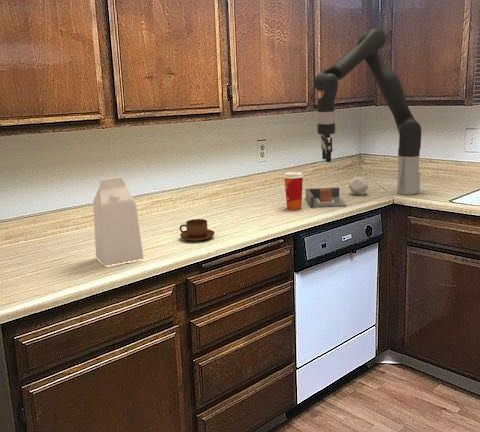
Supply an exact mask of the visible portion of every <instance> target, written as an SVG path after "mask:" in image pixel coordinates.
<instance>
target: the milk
mask: <svg viewBox="0 0 480 432" xmlns="http://www.w3.org/2000/svg"><path fill="white" fill-rule="evenodd" d="M92 203H93V204H92V206H93V209H92V210H93V223H94V239H95V240H94V244H95V258H96V257H97V258H98V259H99V260H100V261H101V262H102V263H103V264H104V265H105V266H107V265H112V264H117V263H123V262H128V261H133V260H138V259H144V254H143V245H142V239H141V232H140V225H139V217H138V210H137V204H136V201H135V199H134V196H133V195H132V194H131V191H130V190H129V187H127V185H126V183H125V181H124V179H123V178H122V177H121V176H117V177H109V178H102V179H101V180H100V182H99V187H98V189H97V192H96V194H95V196H94V198H93V202H92Z"/></svg>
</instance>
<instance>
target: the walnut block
mask: <svg viewBox="0 0 480 432" xmlns="http://www.w3.org/2000/svg"><path fill="white" fill-rule="evenodd" d="M318 188H319V201H320V202H332V190H331V189H330V188H331V187H318Z"/></svg>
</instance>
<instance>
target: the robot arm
mask: <svg viewBox="0 0 480 432" xmlns="http://www.w3.org/2000/svg"><path fill="white" fill-rule="evenodd" d="M386 39H387V35H386V33H385V31H383V30H382V29H380V28H377V27H376V28H371V29H369V30H368V31H366V32H365V33H362V34H361V35H360V36H359V37H358V39H357V46H355V47H354V48H353V49H352V50H350V51H348V52H347V53H345V54H344V55H343V56H342V57H340V58H339V59H338V60H337V61H335V62H334V63H333V64H332V65H331V66H330V67H327V68H326V69H324V70H323V71H320V72H319V73H318V74H317V75H316V76H315V77H314V80H313V83H312V84H313V87H314V89H315V90H316V91H318V92H323V93H322V94H323V95H322V96H321V97H319V98H318V99H317V115H316V118H317V119H316V122H317V123H316V127H317V128H316V129H317V130H316V132H317V135H320V149H321V153H322V154H321V155H322V157H321V158H322V160H325V162H326V163H331V162H332V152H333V138H332V137H331V135H334V134H336V113H335V100H336V95H337V92H338V88H339V81H341V80H342V79H344V78H345V77H347V75H348V74H349V73H351V72H352V71H353V70H354V69H355V68H356V67H357V66H358V65H360V63H361V62H363V61H365V62H366V64H367V65H368V67H369V69H370V71H371V73H372V76H373V78H374V80H375V82H376V84H377V88H378V89H379V92H380V95H381V96H382V98H383V100H384V102H385V104H386V105H387V107H388V109H389V111H390V112H391V114H392V116H393V118H394V121H395V125H396V128H397V131H398V134H399V138H398V149H397V176H396V177H397V183H396V185H397V186H396V187H397V188H396V193H397V194H399V195H407V196H408V195H409V196H410V195H411V196H412V195H417V194H418V195H420V190H421V172H420V153H421V146H422V145H421V144H422V126H421V124H420V123H419V122H418V121H417V120H416V119H415V117H414V116H413V113H412V112H411V110H410V109H409V105H408V103H407V102H408V101H407V98H406V97H407V96H406V94H405V90H404V88H403V85H402V82H401V80H400V79H399V76H398V75H397V73H396V72H395V71H394V70H393V69H392V68H390V66H388V65H387V64H386V63H385V62H384V61H383V60H382V58H381V55H380V53H379V51H380V50H381V49H382V48H383V47H384V46H385V44H386V42H387V40H386Z"/></svg>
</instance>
